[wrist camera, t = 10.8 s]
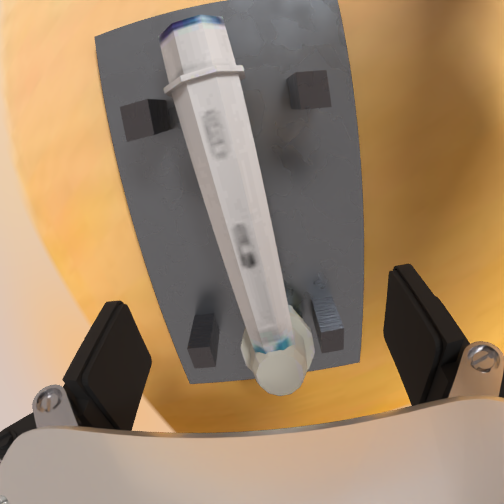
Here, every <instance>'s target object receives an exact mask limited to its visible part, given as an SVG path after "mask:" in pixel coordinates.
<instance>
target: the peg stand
mask: <svg viewBox="0 0 504 504" xmlns="http://www.w3.org/2000/svg"><path fill="white" fill-rule="evenodd" d="M197 15H211V16H221V17H223V20H224V24H225V27H226V31H227V34H228V38H229V41H230V45H231V48H232V52H233V56H234V59H235V63H236V65H243V68H244V72H245V77H246V78H245V79H243V80H241V81H240V82H241V86H242V90H243V95H244V99H245V103H246V108H247V112H248V116H249V121H250V125H251V130H252V134H253V139H254V143H255V148H256V152H257V157H258V161H259V166H260V170H261V175H262V180H263V184H264V189H265V194H266V198H267V203H268V208H269V213H270V217H271V222H272V227H273V232H274V237H275V242H276V247H277V252H278V257H279V262H280V267H281V272H282V277H283V282H284V287H285V292H286V297H287V302H288V305H291V306H293V309H294V310H295V311H296V312H297V313H298V315H299V316H300V317H301V318H303V320H304V322H305V323H306V324H307V326H308V327H309V328H310V329H311V333H312V338H313V343H314V348H315V354H314V357H313V359H312V362H311V365H310V367H309V369H308V370H307V372H308V371H314V370H321V369H326V368H332V367H338V366H343V365H348V364H353V363H358V362H360V350H361V336H362V317H363V291H364V220H363V193H362V175H361V160H360V148H359V136H358V126H357V117H356V108H355V100H354V92H353V84H352V77H351V70H350V64H349V58H348V52H347V46H346V40H345V35H344V29H343V24H342V19H341V14H340V10H339V5H338V0H227V1H221V2H215V3H210V4H205V5H200V6H195V7H190V8H186V9H182V10H177V11H173V12H170V13H166V14H162V15H158V16H155V17H151V18H148V19H145V20H141V21H138V22H135V23H132V24H129V25H126V26H123V27H120V28H117V29H114V30H112V31H109V32H106V33H104V34H101V35H98V36H96V37H95V44H96V51H97V59H98V66H99V72H100V78H101V85H102V90H103V96H104V102H105V107H106V112H107V117H108V122H109V127H110V132H111V137H112V142H113V146H114V151H115V155H116V159H117V164H118V168H119V172H120V176H121V180H122V184H123V188H124V192H125V195H126V199H127V203H128V207H129V210H130V214H131V217H132V221H133V225H134V228H135V231H136V235H137V238H138V241H139V245H140V248H141V251H142V255H143V258H144V261H145V264H146V267H147V270H148V273H149V276H150V279H151V282H152V285H153V288H154V291H155V294H156V297H157V300H158V303H159V305H160V308H161V311H162V314H163V317H164V319H165V322H166V325H167V327H168V330H169V333H170V335H171V338H172V341H173V343H174V346H175V348H176V351H177V353H178V356H179V358H180V361H181V363H182V366H183V368H184V371H185V373H186V375H187V378H188V380H189V383H190V384H198V383H213V382H225V381H237V380H247V379H255V376H254V373H253V372H252V371H251V370H250V369H249V368H248V367H247V366H246V364H245V361H244V358H243V354H242V351H241V341H242V337H243V333H244V328H245V324H244V321H243V318H242V315H241V312H240V309H239V306H238V303H237V300H236V297H235V294H234V291H233V288H232V285H231V282H230V279H229V276H228V273H227V270H226V267H225V264H224V261H223V258H222V255H221V252H220V249H219V246H218V243H217V240H216V237H215V234H214V231H213V228H212V225H211V221H210V218H209V215H208V212H207V209H206V206H205V203H204V199H203V196H202V193H201V190H200V187H199V183H198V180H197V177H196V174H195V170H194V167H193V164H192V161H191V157H190V154H189V151H188V148H187V144H186V141H185V138H184V134H183V131H182V127H181V124H180V121H179V117H178V114H177V110H176V107H175V104H174V100H173V98H171V97H170V96H168V95H166V94H165V93H164V89H163V88H164V87H166V86H167V85H168V84H169V81H168V77H167V73H166V68H165V64H164V60H163V56H162V51H161V47H160V42H159V38H158V36H159V35H160V34H161V33H162V32H163V31H164V30H165V29H166V28H167V27H168V26H169V25H170V24H171V23H174V22H177V21H180V20H183V19H187V18H190V17H193V16H197Z"/></svg>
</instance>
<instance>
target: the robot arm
mask: <svg viewBox="0 0 504 504" xmlns="http://www.w3.org/2000/svg"><path fill="white" fill-rule="evenodd" d="M383 333H384V338H385V341H386V343H387V346H388V348H389V350H390V353H391V355H392V357H393V360H394V362H395V365H396V367H397V369H398V372H399V374H400V377H401V379H402V382H403V384H404V387H405V389H406V392H407V394H408V397H409V399H410V402H411V405H412V406H410V407H405V408H401V409H397V410H392V411H388V412H383V413H378V414H373V415H368V416H363V417H358V418H353V419H348V420H342V421H336V422H330V423H323V424H316V425H309V426H301V427H292V428H283V429H272V430H260V431H245V432H224V433H163V432H142V431H131V430H132V427H133V423H134V420H135V417H136V413H137V409H138V406H139V403H140V400H141V397H142V393H143V390H144V387H145V384H146V380H147V377H148V374H149V371H150V368H151V363H152V361H151V356H150V354H149V352H148V350H147V348H146V345H145V343H144V341H143V339H142V337H141V335H140V332H139V330H138V328H137V326H136V323H135V321H134V319H133V317H132V314H131V312H130V310H129V307H128V306H127V305H126V304H124V303H123V302H122V301H110V302H106V303H105V305H104V306H103V308H102V310H101V311H100V313H99V315H98V316H97V318H96V320H95V322H94V323H93V325H92V327H91V328H90V330H89V332H88V334H87V335H86V337H85V339H84V341H83V343H82V344H81V346H80V348H79V350H78V351H77V353H76V355H75V357H74V359H73V361H72V362H71V364H70V366H69V368H68V370H67V372H66V374H65V376H64V378H63V381H64V382H65V384H64V386H63V387H62V386H60V385H50V386H47V387H45V388H43V389H42V390H40V391H39V393H38V394H37V395H36V396H35V398H34V400H33V404H32V405H33V413H31V414H29V415H28V416H26V417H24V418H22V419H21V420H19V421H17V422H16V423H14V424H12V425H10V426H9V427H7V428H5V429H4V430H2V431H1V432H0V504H504V356H503V353H502V352H501V351H500V349H499V348H498V347H496V346H495V345H493V344H491V343H488V342H483V341H479V342H474V343H471V344H470V343H469V341H468V340H467V338H466V337H465V335H464V334H463V332H462V331H461V329H460V328H459V326H458V325H457V324H456V322H455V321H454V319H453V318H452V316H451V315H450V313H449V312H448V311H447V309H446V308H445V306H444V305H443V304H442V302H441V301H440V299H439V298H438V297H436V296H434V294H433V293H432V292H431V290H430V289H429V288H428V286H427V285H426V284H425V282H424V281H423V280H422V278H421V277H420V276H419V274H418V273H417V272H416V270H415V269H414V268H413V266H412V265H411V264H404V265H398V266H395V267H394V269H393V271H390V272H389V278H388V290H387V302H386V312H385V321H384V329H383Z"/></svg>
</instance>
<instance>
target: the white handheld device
mask: <svg viewBox="0 0 504 504" xmlns="http://www.w3.org/2000/svg"><path fill="white" fill-rule="evenodd" d="M158 38H159V42H160V47H161V51H162V56H163V60H164V64H165V68H166V73H167V77H168V81H169V84H168V85H167V86H166V87H164V88H163V89H164V93H165V94H166V95H168V96H170V97H171V98H173V100H174V104H175V107H176V110H177V114H178V117H179V121H180V124H181V127H182V131H183V134H184V138H185V141H186V144H187V148H188V151H189V154H190V157H191V161H192V164H193V167H194V170H195V174H196V177H197V180H198V183H199V187H200V190H201V193H202V196H203V199H204V203H205V206H206V209H207V212H208V215H209V218H210V221H211V225H212V228H213V231H214V234H215V237H216V240H217V243H218V246H219V249H220V252H221V255H222V258H223V261H224V264H225V267H226V270H227V273H228V276H229V279H230V282H231V285H232V288H233V291H234V294H235V297H236V300H237V303H238V306H239V309H240V312H241V315H242V318H243V321H244V324H245V328H244V333H243V337H242V341H241V351H242V354H243V358H244V361H245V364H246V366H247V367H248V368H249V369H250V370H251V371H252V372H253V373H254V376H255V379H256V381H257V383H258V384H259V385H260V386H261V387H262V388H263V389H264V390H265V391H266V392H268V393H270V394H274V395H278V396H282V395H288V394H292V393H293V392H294V391H296V390H297V389H298V388H299V387H300V386H301V384H302V383H303V380H304V377H305V375H306V372H307V370H308V369H309V367H310V365H311V362H312V359H313V357H314V354H315V348H314V343H313V338H312V333H311V329H310V328H309V327H308V326H307V324H306V323H305V322H304V320H303V318H301V317H300V316H299V315H298V313H297V312H296V311H295V310H294V309H293V306H291V305H288V302H287V297H286V292H285V287H284V282H283V277H282V272H281V267H280V262H279V257H278V252H277V247H276V242H275V237H274V232H273V227H272V222H271V217H270V213H269V208H268V203H267V198H266V194H265V189H264V184H263V180H262V175H261V170H260V166H259V161H258V157H257V152H256V148H255V143H254V139H253V134H252V130H251V125H250V121H249V116H248V112H247V108H246V103H245V99H244V95H243V90H242V86H241V82H240V81H241V80H243V79H245V78H246V77H245V72H244V68H243V65H236V63H235V59H234V56H233V52H232V48H231V45H230V41H229V38H228V34H227V31H226V27H225V24H224V20H223V17H221V16H211V15H197V16H193V17H190V18H187V19H183V20H180V21H177V22H174V23H171V24H170V25H169V26H168V27H167V28H166V29H165V30H164V31H163V32H162V33H161V34H160V35H159V36H158Z"/></svg>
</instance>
